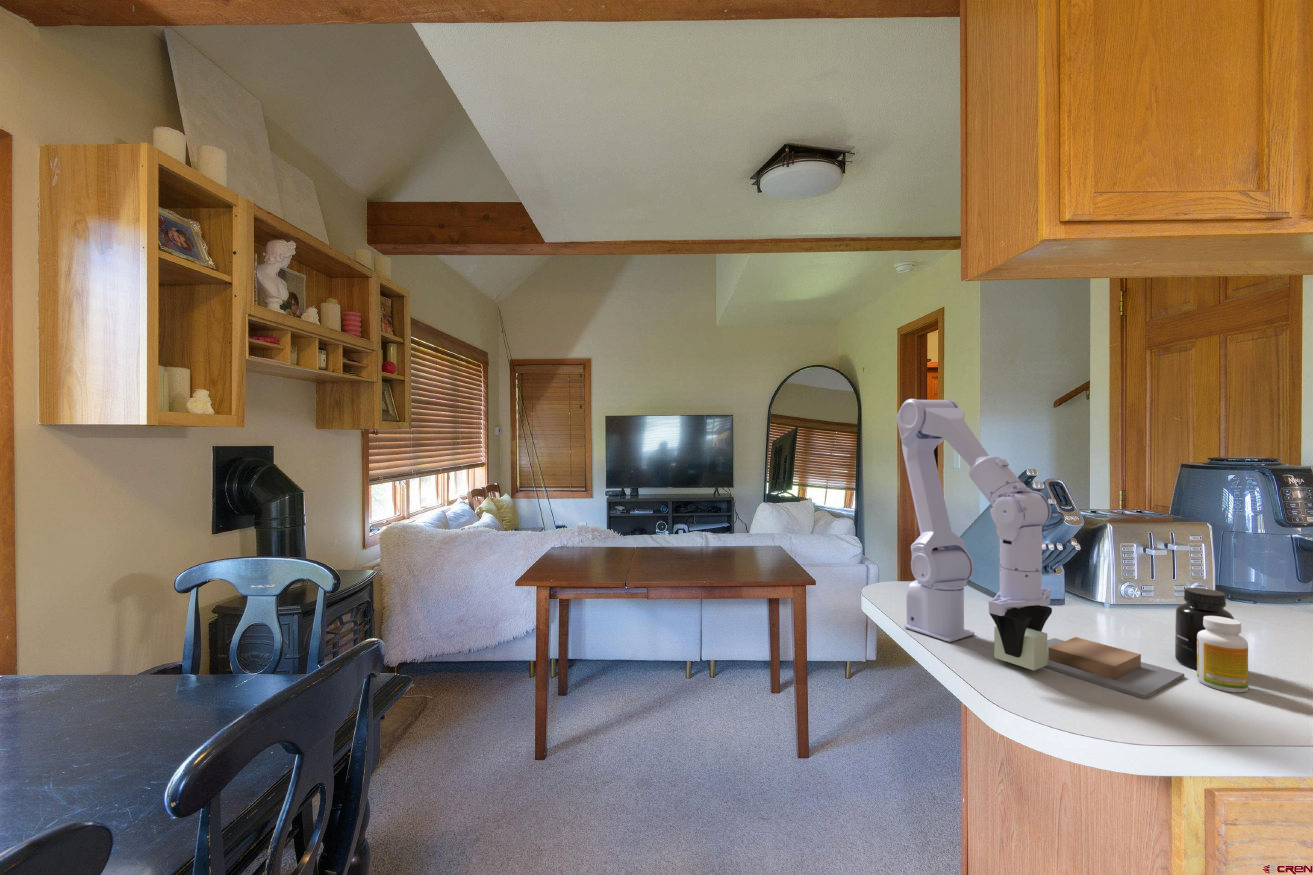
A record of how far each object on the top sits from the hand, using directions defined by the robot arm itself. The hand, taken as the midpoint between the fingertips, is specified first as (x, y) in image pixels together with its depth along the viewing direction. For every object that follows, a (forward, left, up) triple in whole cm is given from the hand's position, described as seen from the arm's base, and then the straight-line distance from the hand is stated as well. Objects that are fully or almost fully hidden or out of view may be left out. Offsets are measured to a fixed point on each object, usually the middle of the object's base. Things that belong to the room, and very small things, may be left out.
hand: (1020, 652), depth 92 cm
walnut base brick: (+6, +10, -2) cm, 12 cm away
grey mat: (+6, +10, -2) cm, 12 cm away
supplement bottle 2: (+19, +18, -2) cm, 26 cm away
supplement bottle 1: (+15, +25, -2) cm, 29 cm away
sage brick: (0, 0, -1) cm, 1 cm away
